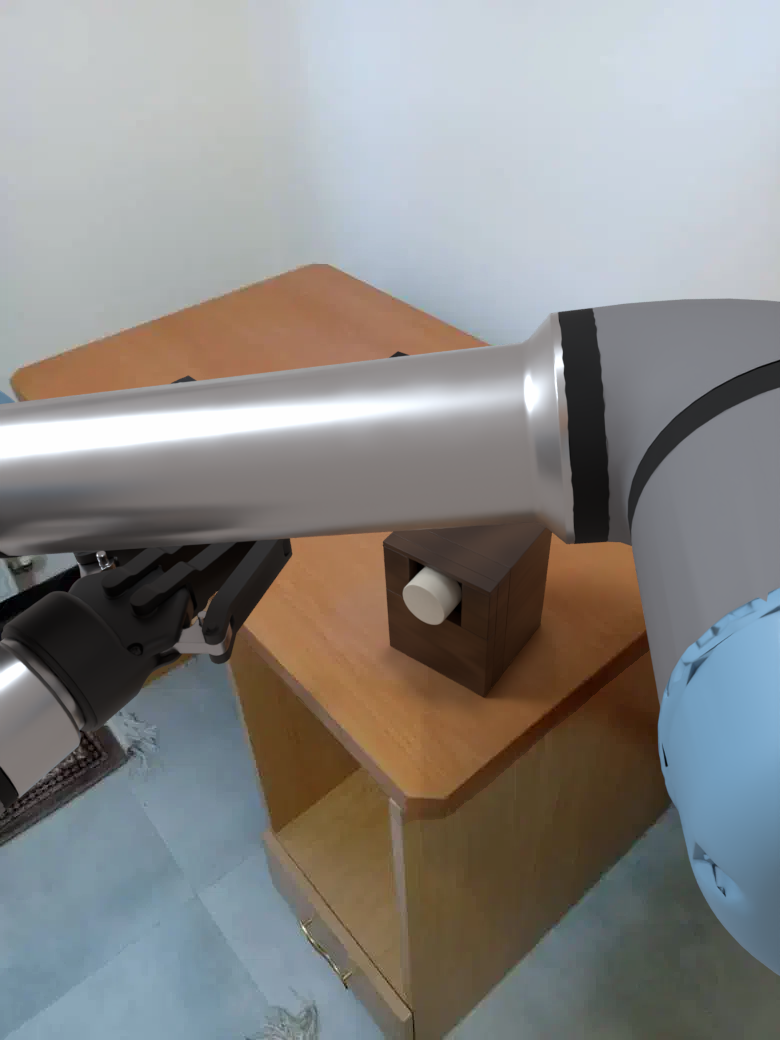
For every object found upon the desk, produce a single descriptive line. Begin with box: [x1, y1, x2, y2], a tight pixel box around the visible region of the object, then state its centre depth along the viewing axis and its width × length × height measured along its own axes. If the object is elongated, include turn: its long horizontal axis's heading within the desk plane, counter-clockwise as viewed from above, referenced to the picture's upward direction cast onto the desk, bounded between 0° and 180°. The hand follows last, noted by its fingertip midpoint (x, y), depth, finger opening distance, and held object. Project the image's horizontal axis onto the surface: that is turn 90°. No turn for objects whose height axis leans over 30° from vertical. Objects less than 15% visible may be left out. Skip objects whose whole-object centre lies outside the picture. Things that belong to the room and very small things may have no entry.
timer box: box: [382, 522, 553, 698], centre depth 68 cm, size 10×10×13 cm
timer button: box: [403, 566, 462, 625], centre depth 63 cm, size 4×3×4 cm, turn 53°
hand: (322, 462), depth 56 cm, fingers closed
